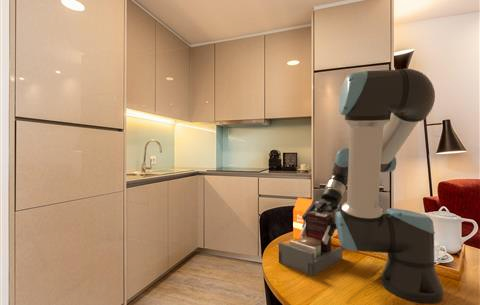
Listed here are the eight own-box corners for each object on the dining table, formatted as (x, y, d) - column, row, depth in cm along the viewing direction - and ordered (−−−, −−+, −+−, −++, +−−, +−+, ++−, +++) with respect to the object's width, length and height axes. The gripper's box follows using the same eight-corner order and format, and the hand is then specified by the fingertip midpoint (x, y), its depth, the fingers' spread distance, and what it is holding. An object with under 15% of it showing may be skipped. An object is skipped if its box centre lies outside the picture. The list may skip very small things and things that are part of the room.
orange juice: (309, 244, 111) (308, 200, 112) (293, 239, 118) (292, 198, 118) (318, 240, 117) (317, 198, 117) (302, 236, 123) (302, 196, 124)
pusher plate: (316, 268, 85) (315, 247, 85) (314, 269, 84) (314, 248, 84) (291, 258, 92) (291, 240, 92) (289, 259, 92) (289, 241, 92)
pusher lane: (342, 260, 93) (342, 240, 94) (312, 279, 80) (311, 254, 80) (310, 250, 104) (310, 231, 104) (278, 264, 90) (278, 243, 90)
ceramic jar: (324, 260, 91) (324, 239, 92) (315, 268, 85) (315, 245, 86) (304, 254, 97) (304, 235, 97) (294, 261, 91) (294, 240, 91)
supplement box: (331, 254, 95) (331, 214, 94) (326, 259, 91) (326, 217, 91) (311, 249, 101) (310, 210, 100) (305, 252, 97) (305, 213, 97)
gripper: (362, 202, 97) (343, 252, 86) (314, 195, 114) (293, 237, 103) (356, 190, 94) (336, 241, 83) (307, 185, 110) (285, 227, 99)
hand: (312, 239), depth 93 cm, fingers closed on supplement box, 9 cm apart
